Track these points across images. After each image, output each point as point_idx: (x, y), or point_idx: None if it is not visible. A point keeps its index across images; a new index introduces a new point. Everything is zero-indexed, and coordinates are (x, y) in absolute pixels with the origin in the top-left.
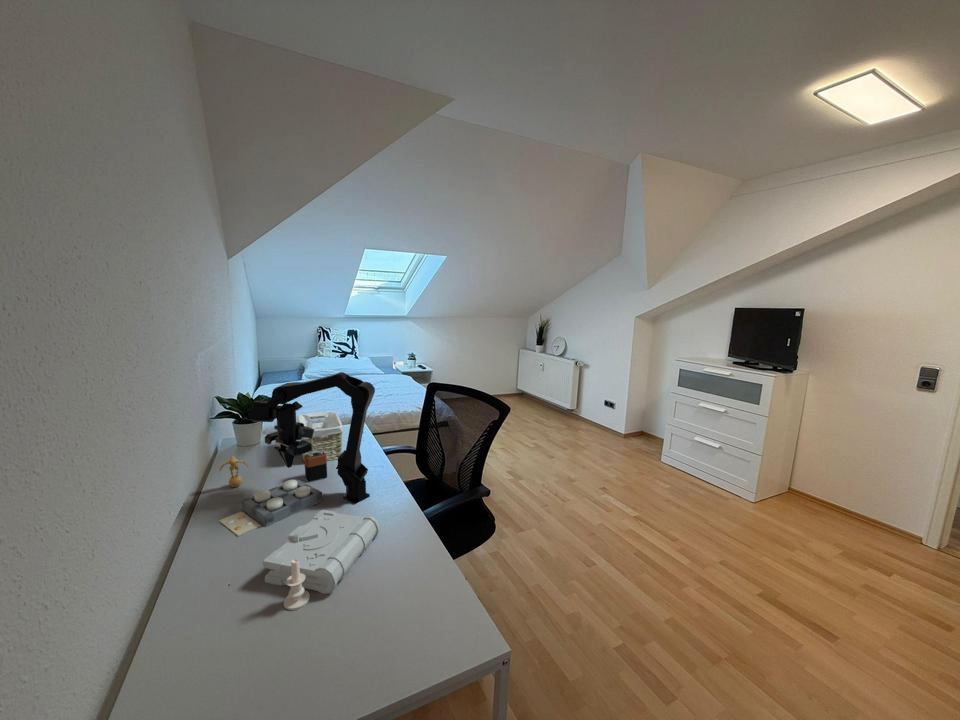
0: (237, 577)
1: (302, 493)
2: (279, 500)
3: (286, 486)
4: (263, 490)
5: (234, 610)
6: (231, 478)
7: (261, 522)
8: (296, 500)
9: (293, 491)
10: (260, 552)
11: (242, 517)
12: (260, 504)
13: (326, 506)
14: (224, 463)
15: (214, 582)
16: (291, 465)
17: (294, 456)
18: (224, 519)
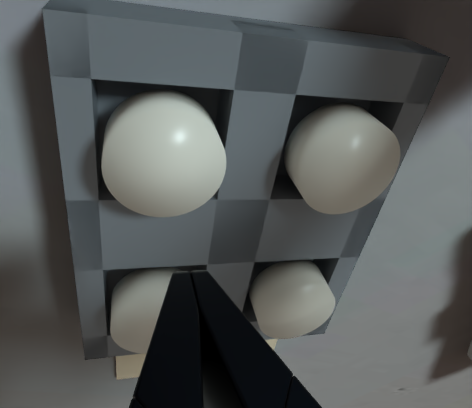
0: (401, 379)
1: (376, 191)
2: (314, 299)
3: (192, 206)
4: (120, 313)
5: (455, 391)
6: None
7: None
8: (350, 213)
9: (245, 168)
10: (390, 339)
11: None
12: None
13: (462, 74)
14: None
15: (368, 402)
16: (215, 286)
17: (313, 402)
18: (127, 370)
